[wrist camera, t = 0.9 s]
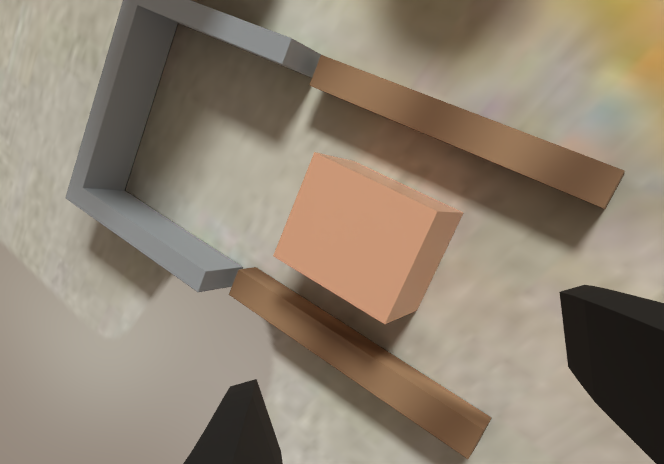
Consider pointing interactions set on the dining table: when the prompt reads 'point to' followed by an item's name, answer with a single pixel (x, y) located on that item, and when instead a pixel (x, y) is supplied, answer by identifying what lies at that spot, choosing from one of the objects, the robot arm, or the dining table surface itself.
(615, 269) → the dining table surface
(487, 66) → the dining table surface
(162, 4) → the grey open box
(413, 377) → the channel
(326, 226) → the block
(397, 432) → the dining table surface
